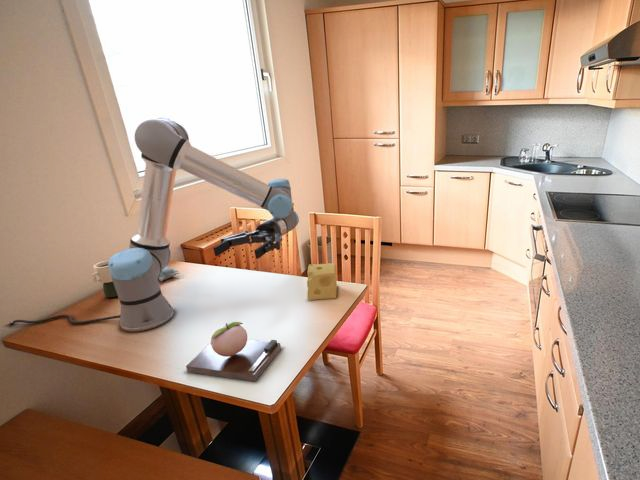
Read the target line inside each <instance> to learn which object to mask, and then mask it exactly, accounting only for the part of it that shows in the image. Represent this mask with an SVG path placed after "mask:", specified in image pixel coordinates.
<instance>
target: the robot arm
mask: <svg viewBox="0 0 640 480" xmlns="http://www.w3.org/2000/svg"><path fill="white" fill-rule="evenodd" d="M134 143H135V145H136V147H137V149H138V150H139V151H140V152H141V154H140V155H141V156H140V158H141V159H142V160H143V161H144V163H145V169H144V175H143V183H142V190H141V191H142V192H141V198H140V206H139V214H138V219H137V220H138V221H137V228H136V229H137V230H136V232H135V233H133V234H131V235H130V240H129V247H128V248H127V249H123V250H121V251H120V252H117V253H115V254H113V255H112V256H111V257H110V258H109V260H107V261H108V267H109V273H110V275H111V277H112V280H113V283H114V286H115V289H116V292H117V295H118V296H117V297H118V300H119V303H120V314H119V315H111V316H107V317H100V318H94V319H93V318H92V319H88V320H79V321H78V320H73V317H72V315H70V314H65V313H64V314H56V315H54V316H53V315H52V316H50V317H46V318H42V319H37V320H26V319H14V320H12V321H13V323H11V322H9V324H8V326H9V327H10V326H13V325H14V324H16V323H25V324H40V323H43V322H47V321H52V320H54V319H58V318H68V320H69V322H70V323H71V324H75V325H80V324H89V323H96V322H101V321H107V320H108V321H109V320H113V319H119V325H120V328H121V330H122V331H124V332H129V333H137V332H145V331H148V330H152V329H155V328H157V327H159V326H162V325H164V324H166V323H167V322H168V321H170V320H171V319H172V318H173V316H174V313H175V312H174V309H173V306H172V304H170V303H169V301H168V300H167V298H166V297H165V296H164V295H163V293H162V289H161V285H160V281H158V276H159V275H160V273H161V272H162V270H163V269H164V268H165V267H166V266H168V264H169V263H170V260H171V259H170V258H171V249H170V244H171V239H170V238H168V236H167V232H168V224H169V218H170V213H171V205H172V201H173V194H174V188H175V187H174V186H175V181H176V175H177V170H182V171H183V172H186V173H188V174H191V175H192V176H195V177H197V178H198V179H200V180H203V181H205V182H207V183H209V184H212V185H214V186H216V187H217V188H220V189H222V190H224V191H226V192H228V193H230V194H232V195H235V196H237V197H239V198H241V199H242V200H245V201H247V202H249V203H251V204H253V205H256V206H258V207H260V208H262V209H264V210H266V211H268V212H269V214H270V215H271V217H270V218H268V219H267V220H265V221H263V222H261V223H259V224H258V225H257V226H256V229H255V230H253V231H250V232H249V231H248V230H243V231H242V232H239V233H236V234H232V235H228V236H225V237H222V238H220V239H219V240H220V243H219V244H217V245H214V246H213V247H212V248H213V252H214V256H215V257H218V256H220V255H222V254H223V253H225V252H227V251H229V250H230V249H231V248H232V247H236V246H240V245H244V244H245V245H246V244H248V245H252V244H259V243H261V245H260V246H258V247H256V248H255V249H254V257H255V260H259V259H260V258H262V257H263V256H264V255H266V254H267V253H269V252H271V251H274V250H277V251H280V250H281V242H282V241H283V236H285V235H287V234H288V233H289V232H291V231H293V230H294V229H295V228H296V227H297V226H298V224H299V222H300V218H299V214H298V213H297V212H296V211H295V210H294V208H293V207H294V203H293V198H292V187H291V184H290V183H291V182H290V181H289V179H287V178H273V179H271V180H269V181H267V183H266V182H264V181H262V180H260V179H257V178H255V177H254V176H252V175H250V174H247V173H246V172H244V171H242V170H240V169H238V168H236V167H234V166H232V165H230V164H228V163H226V162H224V161H223V160H221V159H218V158H216V157H215V156H212V155H210V154H209V153H206V152H205V151H203V150H200V149H199V148H196V147H195V146H193V145H192V144H191V142H190V137H189V134H188V131H187V130H186V128H185V127H184V125H182V124H181V123H179V122H178V121H176V120H175V119H170V118H166V117H159V118H153V119H152V118H151V119H147V120H144V121H143V122H140V123H139V124H138V126H137V127H136V129H135V132H134ZM262 243H263V244H262Z"/></svg>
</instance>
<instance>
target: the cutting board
mask: <svg viewBox="0 0 640 480" xmlns="http://www.w3.org/2000/svg"><path fill="white" fill-rule="evenodd" d="M281 345H282V344H281V343H280V342H278V341H277V339H271V340H270V341H264V340H255V339H248V338H247V343H246V346H245V347H244V348H243V349H242V350H241V351H240V352H238V353H237V354H235V355H233V356H229V357H225V356H221V355H219V354H217V353H216V352H215V351H214V350H213V348H212V346H211V343H210V344H208V345H207V346H206V347H205V348H204V349H203V350H202V351H201V352H199V353H198V354H197V355H196V356H195V357H194V358H193V359H192V360H190V362H188V364H187V365H185V369H186V372H187V373H192V374H198V375H204V376H212V377H220V378H226V379H233V380H240V381H249V382H255V383H256V382H257V380H258V379H259V378H260V377H261V375H262V374H263V373H264V371H265V370H266V369H267V368H268V366H269V365H270V364H271V362H272V361H274V359H275V358H276V356H277V355H278V354H279V352H280V351H281V350H282V347H281Z"/></svg>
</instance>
